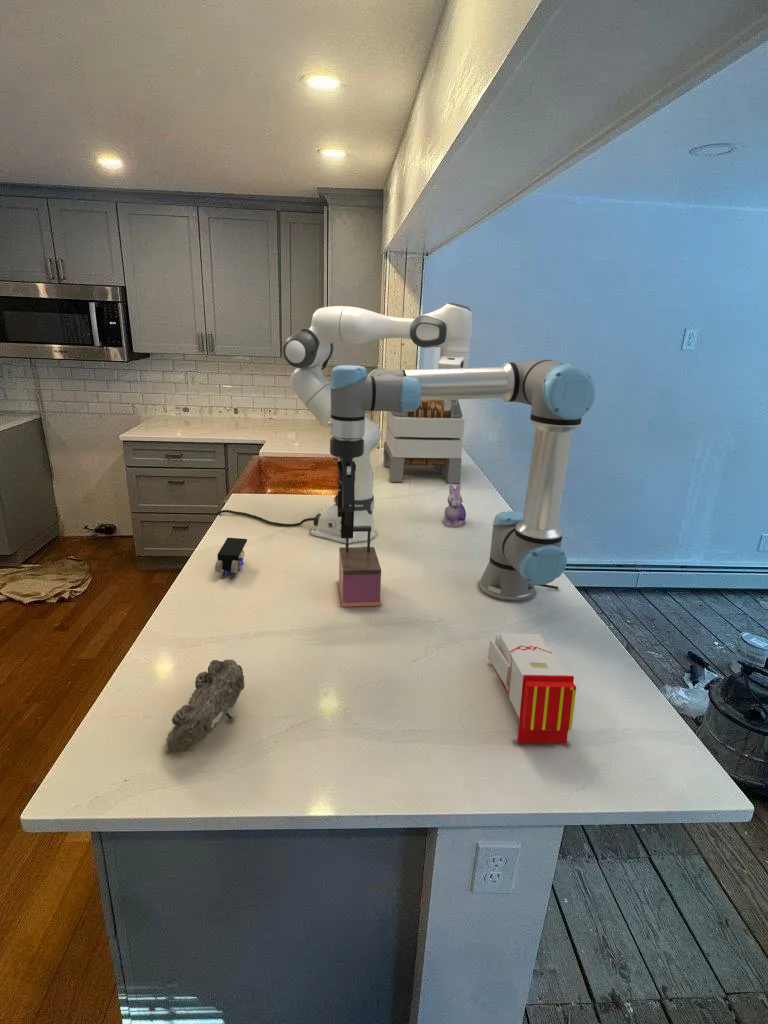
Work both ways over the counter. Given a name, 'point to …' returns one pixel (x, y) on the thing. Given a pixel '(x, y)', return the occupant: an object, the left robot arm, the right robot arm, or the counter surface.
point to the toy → (534, 687)
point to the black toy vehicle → (230, 556)
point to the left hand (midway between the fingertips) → (450, 407)
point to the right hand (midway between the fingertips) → (345, 526)
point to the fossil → (206, 705)
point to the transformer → (425, 439)
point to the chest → (359, 588)
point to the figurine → (454, 508)
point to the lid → (359, 556)
